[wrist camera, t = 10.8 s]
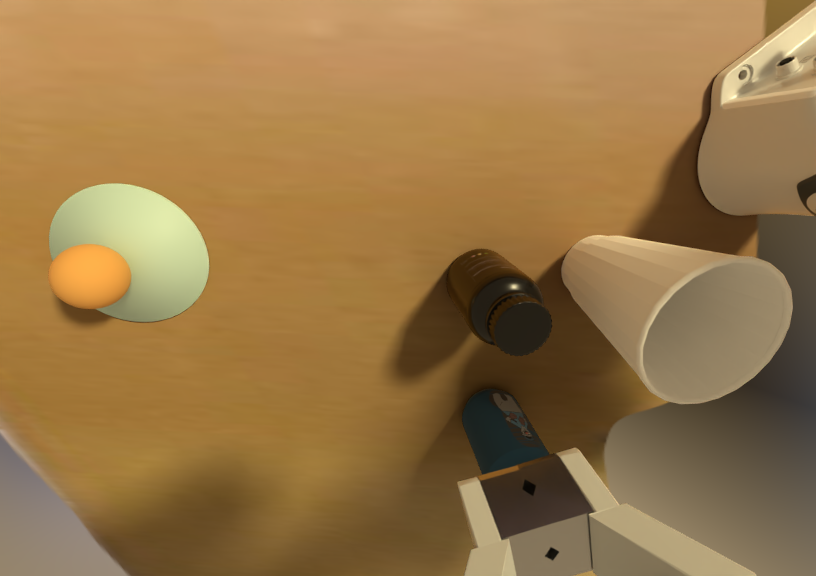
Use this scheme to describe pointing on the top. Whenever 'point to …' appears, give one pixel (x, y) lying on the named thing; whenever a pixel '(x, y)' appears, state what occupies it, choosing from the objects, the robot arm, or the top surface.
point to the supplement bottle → (499, 302)
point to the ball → (89, 276)
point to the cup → (681, 312)
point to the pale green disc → (138, 247)
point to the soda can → (500, 431)
